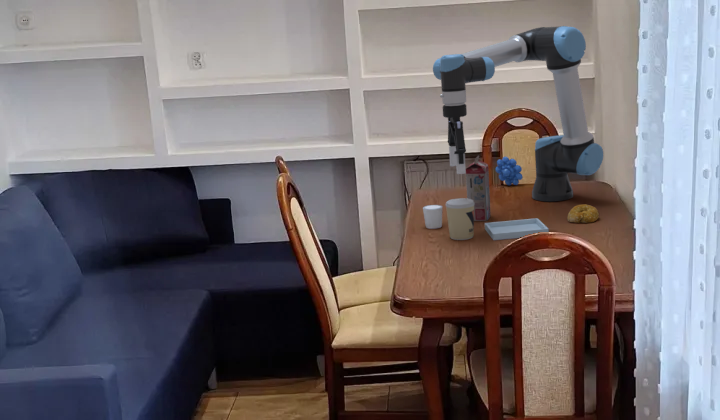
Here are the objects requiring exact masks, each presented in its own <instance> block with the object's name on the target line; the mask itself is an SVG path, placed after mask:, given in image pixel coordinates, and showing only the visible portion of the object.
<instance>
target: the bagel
mask: <svg viewBox="0 0 720 420" xmlns="http://www.w3.org/2000/svg"><path fill="white" fill-rule="evenodd" d="M599 214H600V213H599V211H598V209H597V208H596V207H595V206H592V205H591V204H590V205H589V204H582V203H581V204H576V205H575V206H573V207H572V208H571V209H570V211H569V212H568V214H567V222H568V223H575V224H580V223H581V224H582V223H583V224H588V223H594V222H596V221H597V220H598V219H599V217H600V216H599Z"/></svg>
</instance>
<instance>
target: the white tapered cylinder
mask: <svg viewBox="0 0 720 420" xmlns="http://www.w3.org/2000/svg"><path fill="white" fill-rule="evenodd" d="M422 212H423V218H424V219H423V220H424V224H425V228H427V229H430V230H431V229H434V230H435V229H440V228H441V227H442V226H443V205H440V204H430V205H429V204H428V205H425V206H423V207H422Z"/></svg>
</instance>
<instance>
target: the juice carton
mask: <svg viewBox="0 0 720 420" xmlns="http://www.w3.org/2000/svg"><path fill="white" fill-rule="evenodd" d="M465 169H466V174H465V177H466V178H465V179H466V181H465V182H466V198H467V199H472V200H473V202H474V222H476V221H478V222H488V220H490V218H491V196H490V195H491V193H490V174H489V173H490V172H489V164H488V163H486V162H484V161H482V160H481V159H480V155H477V156H476V157H475V158H474V161H473V162H472V163H470V164H469V165H468V166H467V167H465Z"/></svg>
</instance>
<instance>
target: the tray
mask: <svg viewBox="0 0 720 420" xmlns="http://www.w3.org/2000/svg"><path fill="white" fill-rule="evenodd" d="M484 230H485V231H486V233H487V234H488V235H489V236H490V238H491V239H492V240H493V241H500V240H502V241H503V240H510V239H511V240H512V239H520V237H523V236H525V235H528V234H533V233H538V232H549V233H550V229H549V227H547V225H546V224H544V223H543V222H542V221H541V220H540V219H539V218H528V219H527V218H526V219H514V220H506V221H505V220H504V221H493V222H484ZM523 238H524V237H523Z"/></svg>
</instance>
